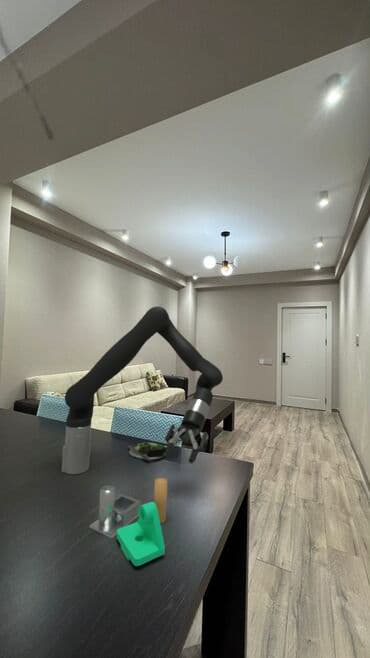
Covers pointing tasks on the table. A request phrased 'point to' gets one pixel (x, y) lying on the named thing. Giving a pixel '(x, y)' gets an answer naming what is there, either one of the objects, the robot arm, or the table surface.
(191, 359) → the robot arm
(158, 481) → the tan rounded cylinder
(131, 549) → the camera mount
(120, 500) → the clear post on plate
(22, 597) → the table surface
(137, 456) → the salad plate
